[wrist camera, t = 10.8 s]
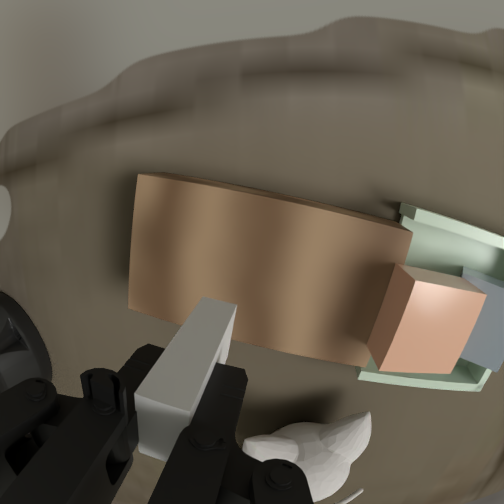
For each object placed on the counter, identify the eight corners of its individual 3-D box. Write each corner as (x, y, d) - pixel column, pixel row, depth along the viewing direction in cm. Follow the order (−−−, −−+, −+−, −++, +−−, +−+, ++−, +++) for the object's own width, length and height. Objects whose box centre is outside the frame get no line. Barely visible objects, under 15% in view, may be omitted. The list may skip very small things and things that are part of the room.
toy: (335, 447, 33) (374, 377, 26) (359, 502, 26) (417, 451, 18) (232, 468, 31) (232, 404, 23) (247, 531, 23) (255, 501, 16)
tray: (352, 354, 25) (357, 379, 21) (401, 202, 21) (416, 208, 18) (466, 370, 23) (479, 391, 20) (518, 242, 20) (540, 252, 16)
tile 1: (497, 372, 16) (495, 356, 19) (530, 299, 15) (524, 289, 17) (434, 346, 20) (438, 333, 22) (463, 272, 18) (463, 266, 20)
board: (151, 289, 26) (128, 308, 22) (163, 172, 23) (137, 174, 19) (358, 339, 24) (365, 367, 20) (396, 221, 21) (413, 232, 17)
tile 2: (366, 345, 20) (378, 370, 17) (395, 262, 18) (415, 280, 15) (433, 351, 20) (450, 373, 17) (463, 278, 18) (487, 294, 15)
